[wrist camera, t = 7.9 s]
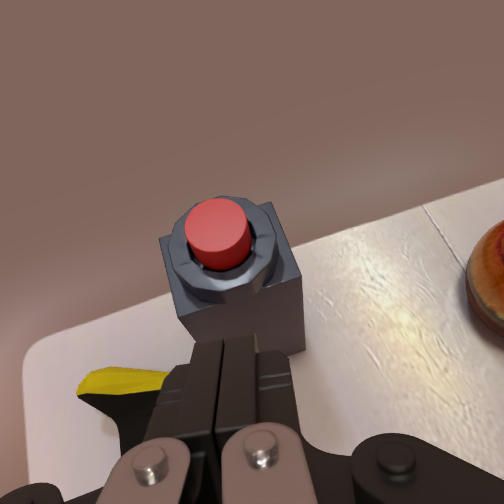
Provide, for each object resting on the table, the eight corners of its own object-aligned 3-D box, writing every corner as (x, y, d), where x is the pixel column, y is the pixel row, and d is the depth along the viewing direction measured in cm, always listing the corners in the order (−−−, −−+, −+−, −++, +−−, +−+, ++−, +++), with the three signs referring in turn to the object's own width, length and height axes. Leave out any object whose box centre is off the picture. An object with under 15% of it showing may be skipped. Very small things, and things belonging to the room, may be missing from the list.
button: (242, 212, 28) (236, 190, 26) (259, 259, 27) (254, 239, 24) (187, 230, 28) (178, 209, 26) (201, 278, 26) (192, 260, 24)
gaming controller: (108, 574, 35) (232, 541, 35) (75, 587, 30) (219, 548, 30) (97, 383, 42) (200, 356, 42) (69, 369, 37) (185, 339, 37)
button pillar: (283, 291, 44) (267, 180, 29) (306, 352, 41) (302, 264, 26) (206, 317, 44) (148, 219, 28) (224, 380, 41) (169, 309, 25)
